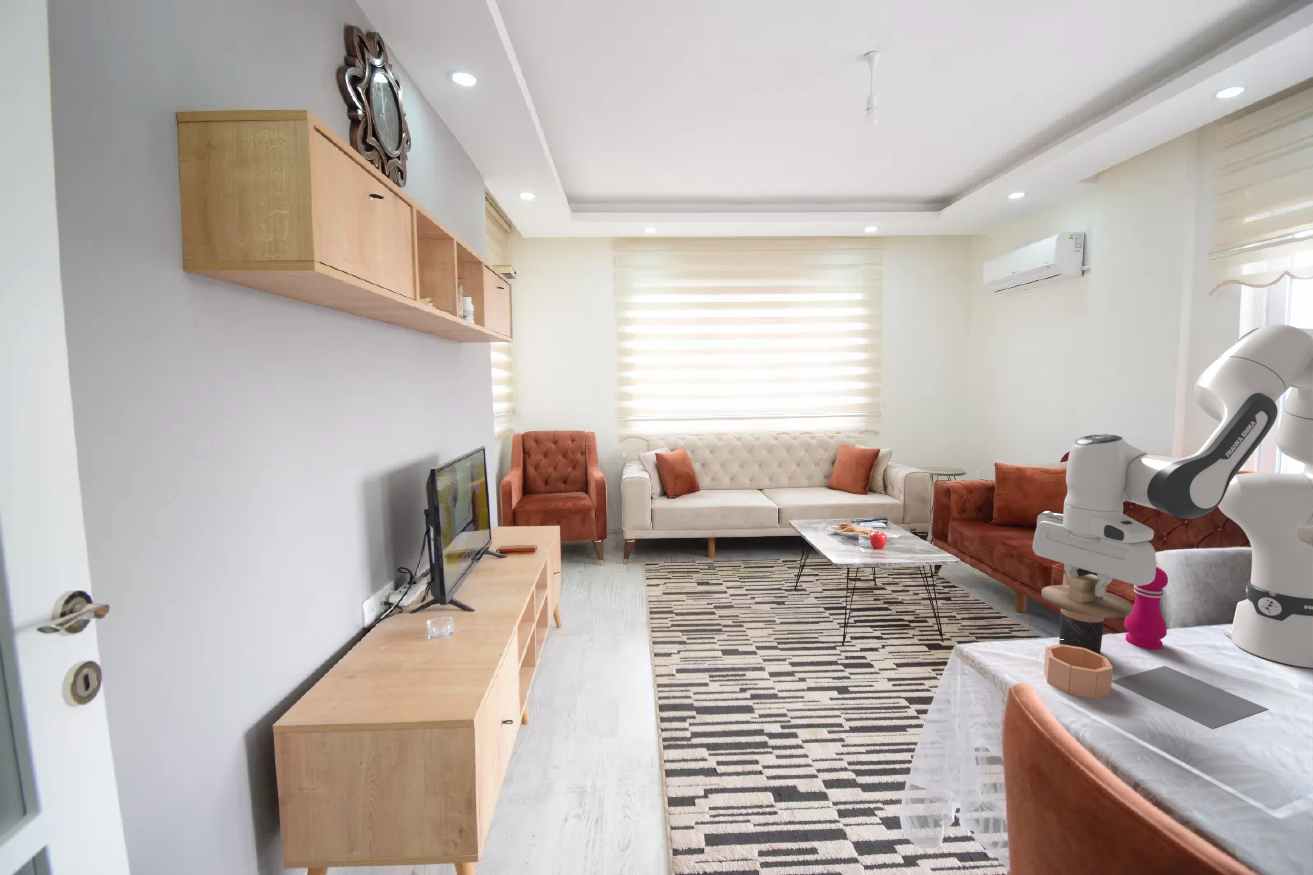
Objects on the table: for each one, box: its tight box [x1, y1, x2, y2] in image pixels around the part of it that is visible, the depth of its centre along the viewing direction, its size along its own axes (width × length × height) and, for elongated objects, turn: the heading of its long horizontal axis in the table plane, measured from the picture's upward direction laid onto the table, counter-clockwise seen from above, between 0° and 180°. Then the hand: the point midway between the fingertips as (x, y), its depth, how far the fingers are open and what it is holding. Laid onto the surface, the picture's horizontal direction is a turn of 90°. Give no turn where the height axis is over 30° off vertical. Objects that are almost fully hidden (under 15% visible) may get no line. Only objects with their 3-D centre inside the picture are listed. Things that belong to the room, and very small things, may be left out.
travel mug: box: [1059, 568, 1108, 655], centre depth 124 cm, size 8×8×20 cm
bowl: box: [1043, 644, 1114, 700], centre depth 112 cm, size 10×10×6 cm
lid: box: [1041, 574, 1133, 619], centre depth 109 cm, size 14×14×5 cm
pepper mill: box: [1123, 566, 1169, 651], centre depth 127 cm, size 7×7×20 cm
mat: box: [1112, 665, 1269, 730], centre depth 108 cm, size 16×16×1 cm
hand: (1086, 592), depth 109 cm, fingers closed on lid, 2 cm apart
